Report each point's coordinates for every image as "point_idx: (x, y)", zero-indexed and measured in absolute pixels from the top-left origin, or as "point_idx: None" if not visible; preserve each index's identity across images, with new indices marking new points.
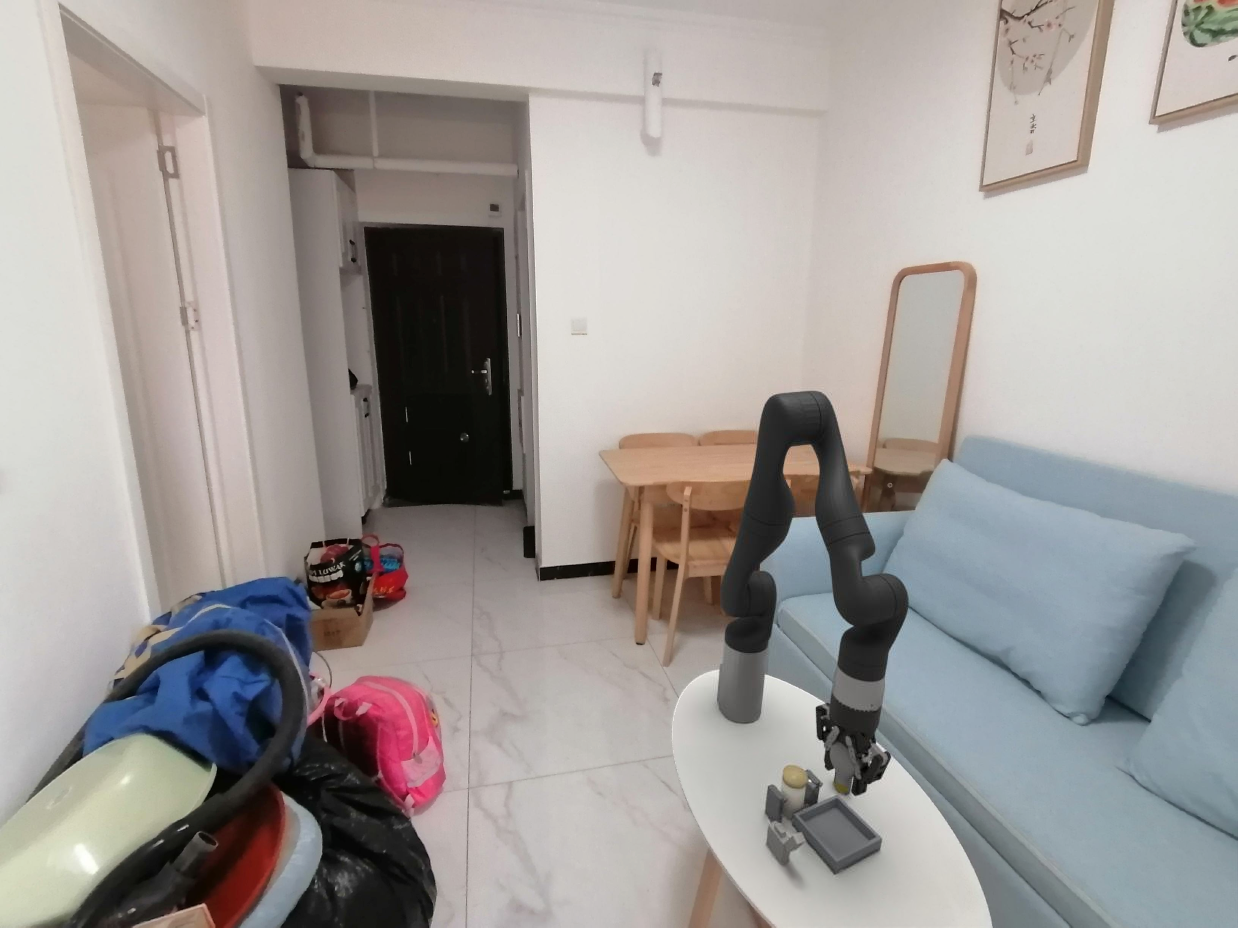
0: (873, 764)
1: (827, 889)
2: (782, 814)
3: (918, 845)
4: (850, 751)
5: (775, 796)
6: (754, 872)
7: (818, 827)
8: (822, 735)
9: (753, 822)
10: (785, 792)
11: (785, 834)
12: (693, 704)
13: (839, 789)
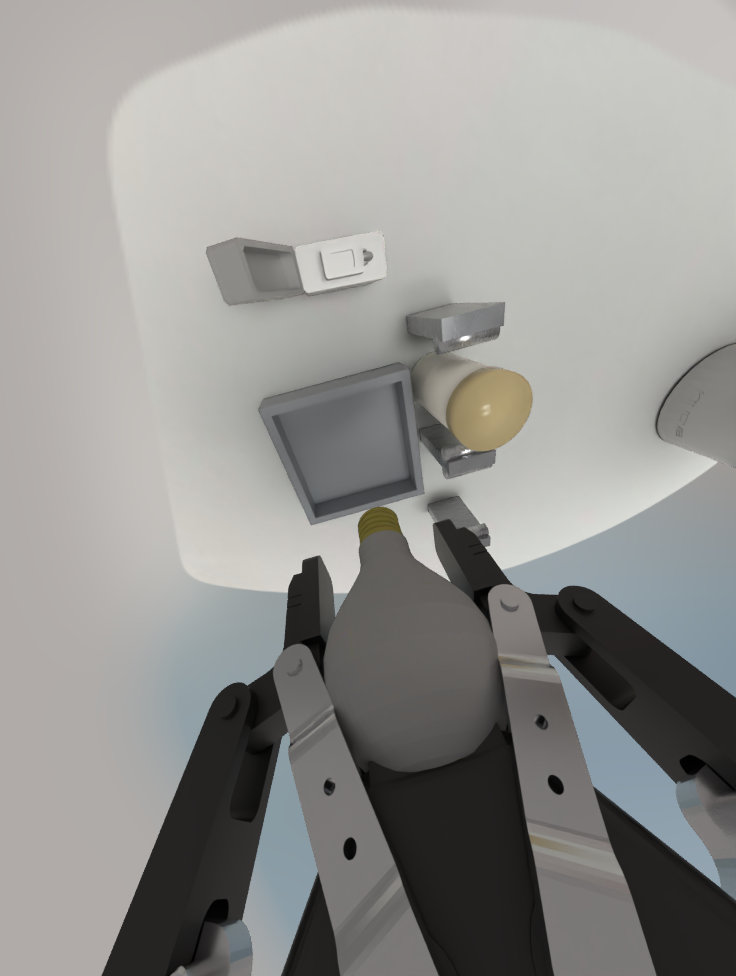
0: (146, 956)
1: (222, 359)
2: (431, 352)
3: None
4: (357, 826)
5: (459, 313)
6: (275, 128)
7: (374, 420)
8: (581, 630)
9: (438, 246)
10: (462, 365)
11: (324, 275)
12: None
13: (366, 518)
